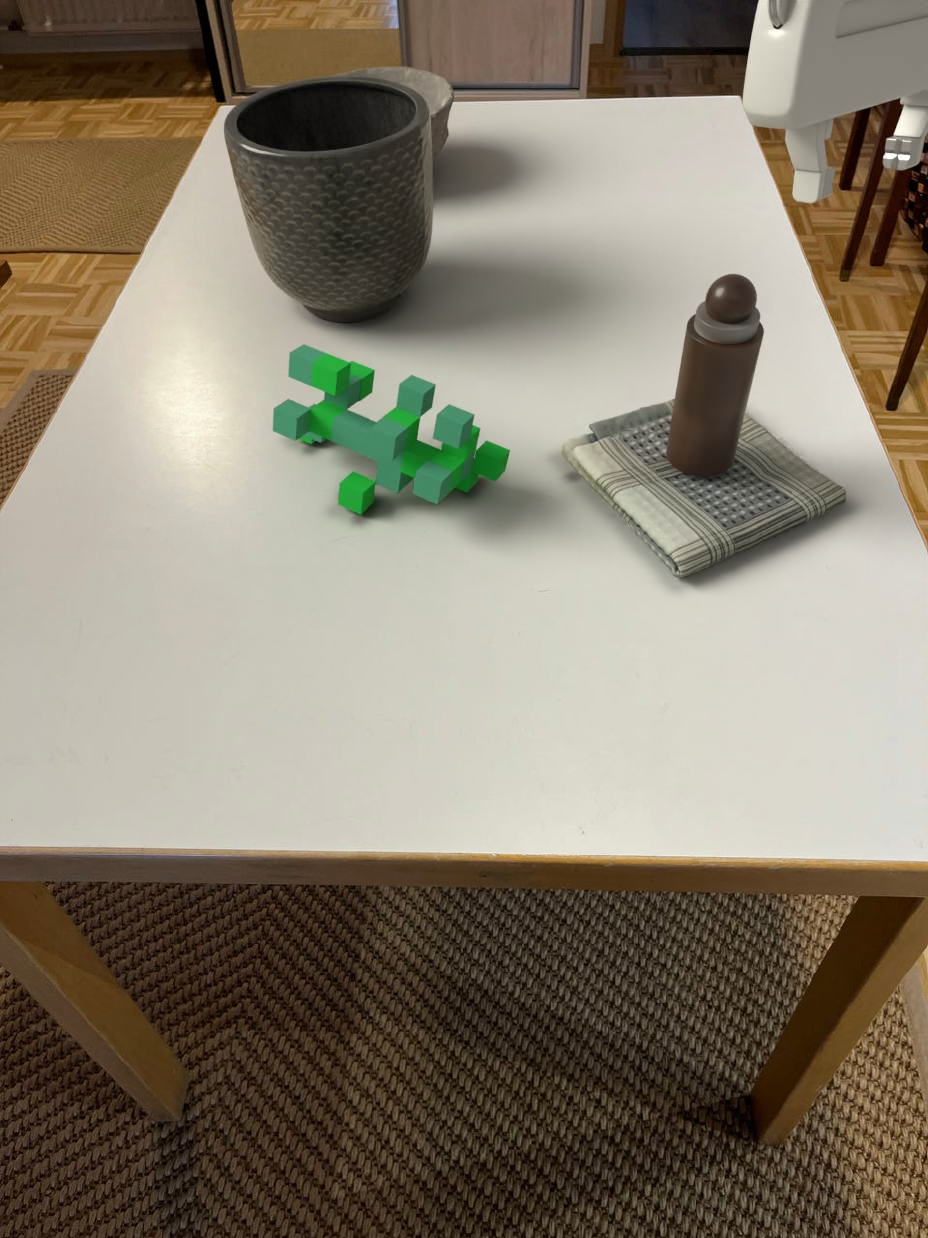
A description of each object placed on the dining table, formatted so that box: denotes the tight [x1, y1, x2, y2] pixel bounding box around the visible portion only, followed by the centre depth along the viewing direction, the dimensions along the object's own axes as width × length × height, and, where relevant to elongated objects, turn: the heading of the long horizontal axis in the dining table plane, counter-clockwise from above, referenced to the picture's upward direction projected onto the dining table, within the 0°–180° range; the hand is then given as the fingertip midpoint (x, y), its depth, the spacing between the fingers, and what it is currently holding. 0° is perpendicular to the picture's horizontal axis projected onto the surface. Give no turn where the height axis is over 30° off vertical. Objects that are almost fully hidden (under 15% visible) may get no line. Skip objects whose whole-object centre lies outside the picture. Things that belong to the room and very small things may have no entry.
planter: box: [223, 75, 434, 323], centre depth 95 cm, size 20×20×19 cm
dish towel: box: [560, 398, 847, 578], centre depth 78 cm, size 19×18×3 cm
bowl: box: [328, 66, 455, 160], centre depth 118 cm, size 21×21×10 cm
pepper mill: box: [666, 273, 765, 477], centre depth 71 cm, size 6×6×16 cm
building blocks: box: [272, 343, 511, 515], centre depth 78 cm, size 20×12×13 cm, turn 79°
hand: (857, 183), depth 58 cm, fingers open, 8 cm apart
